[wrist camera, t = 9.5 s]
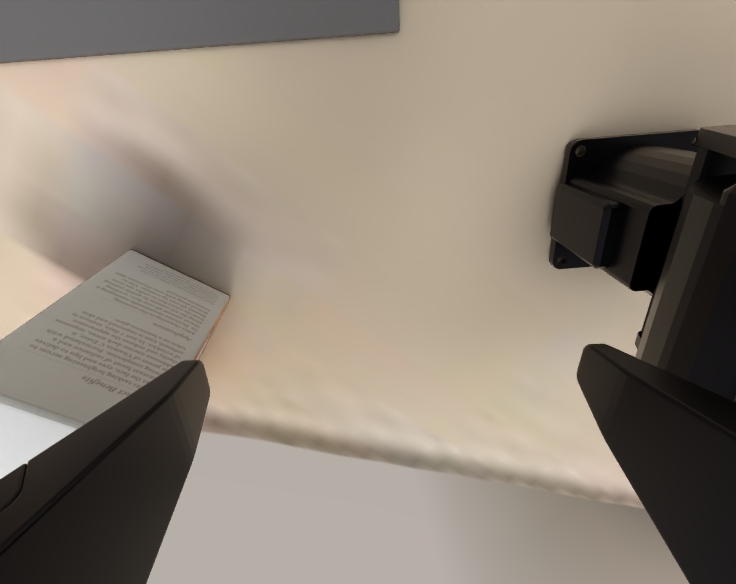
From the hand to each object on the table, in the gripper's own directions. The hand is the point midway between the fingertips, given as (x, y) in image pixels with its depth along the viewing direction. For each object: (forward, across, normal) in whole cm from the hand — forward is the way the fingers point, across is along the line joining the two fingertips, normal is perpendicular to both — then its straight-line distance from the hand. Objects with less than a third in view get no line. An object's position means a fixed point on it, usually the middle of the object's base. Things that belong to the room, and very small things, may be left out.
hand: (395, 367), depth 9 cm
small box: (+12, +12, +6) cm, 18 cm away
